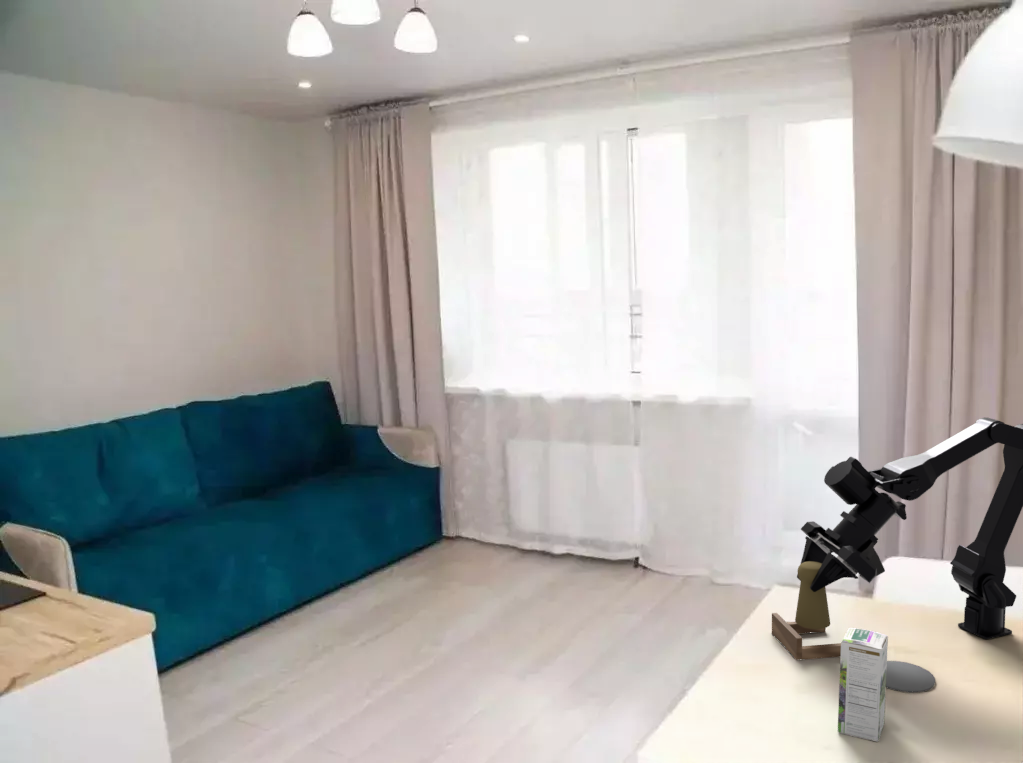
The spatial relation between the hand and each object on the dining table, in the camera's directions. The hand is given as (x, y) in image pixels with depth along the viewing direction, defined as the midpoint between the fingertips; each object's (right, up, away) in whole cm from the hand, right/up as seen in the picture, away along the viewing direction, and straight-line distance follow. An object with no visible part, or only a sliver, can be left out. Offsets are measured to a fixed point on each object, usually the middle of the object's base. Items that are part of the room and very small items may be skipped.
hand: (805, 584), depth 155 cm
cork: (+2, -7, +1) cm, 7 cm away
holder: (+2, -11, +2) cm, 11 cm away
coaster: (+12, -13, -12) cm, 21 cm away
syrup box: (-1, -15, -26) cm, 31 cm away
